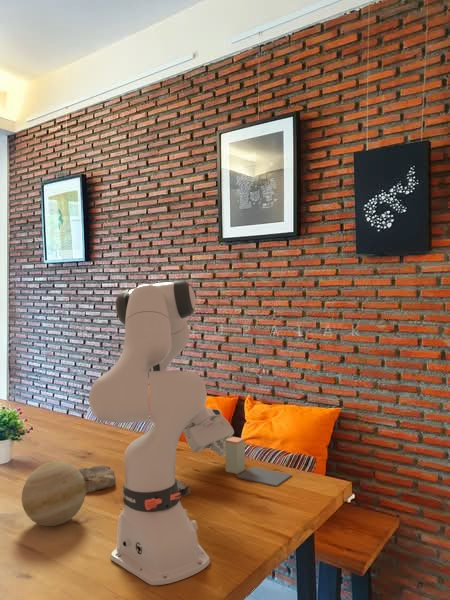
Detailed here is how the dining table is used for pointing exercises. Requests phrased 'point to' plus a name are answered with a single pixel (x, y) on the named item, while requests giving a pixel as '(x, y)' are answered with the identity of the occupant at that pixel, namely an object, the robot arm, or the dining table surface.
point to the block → (235, 455)
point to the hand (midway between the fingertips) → (224, 454)
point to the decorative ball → (53, 493)
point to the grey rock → (98, 478)
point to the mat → (264, 476)
